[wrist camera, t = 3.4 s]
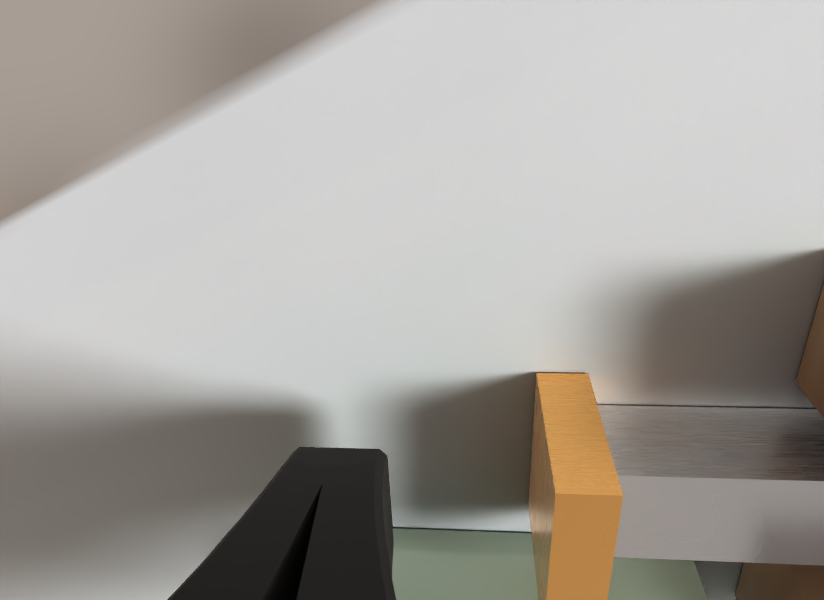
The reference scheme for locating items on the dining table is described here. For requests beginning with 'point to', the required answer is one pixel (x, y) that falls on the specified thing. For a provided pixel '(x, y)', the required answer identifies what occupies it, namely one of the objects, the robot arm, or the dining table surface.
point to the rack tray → (516, 569)
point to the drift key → (667, 486)
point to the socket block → (790, 583)
